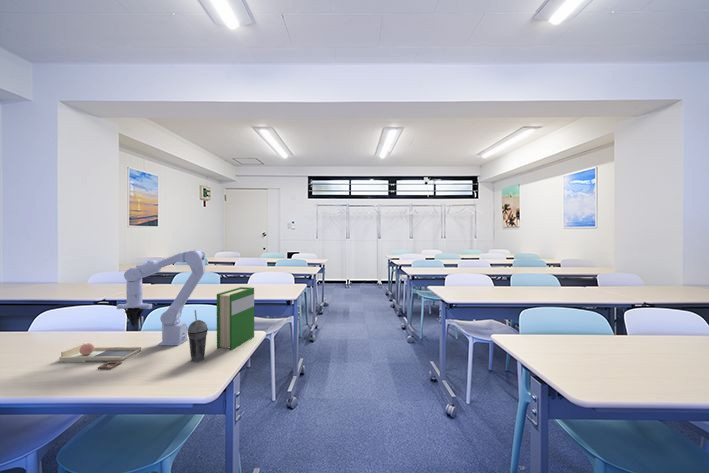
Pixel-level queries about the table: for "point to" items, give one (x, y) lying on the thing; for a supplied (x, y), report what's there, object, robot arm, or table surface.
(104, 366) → the open wooden square ring
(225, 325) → the hardback book
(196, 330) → the beverage cup
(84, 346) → the ball
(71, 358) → the tray
